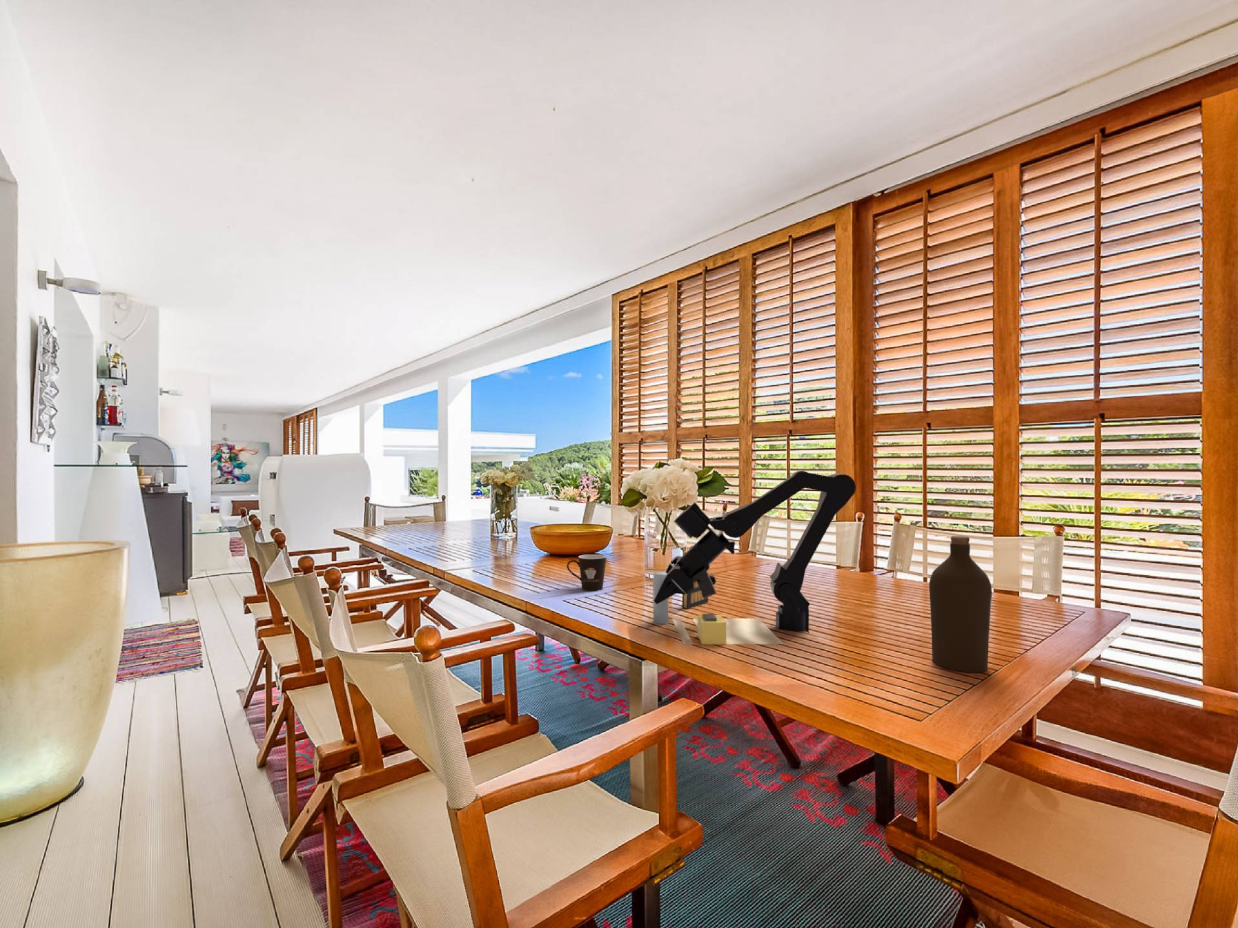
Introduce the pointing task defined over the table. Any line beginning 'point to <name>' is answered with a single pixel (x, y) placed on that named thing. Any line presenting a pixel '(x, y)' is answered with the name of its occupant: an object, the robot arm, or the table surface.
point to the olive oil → (960, 611)
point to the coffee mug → (590, 571)
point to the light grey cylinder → (663, 607)
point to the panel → (736, 632)
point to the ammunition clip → (693, 598)
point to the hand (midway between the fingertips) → (656, 597)
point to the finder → (711, 629)
